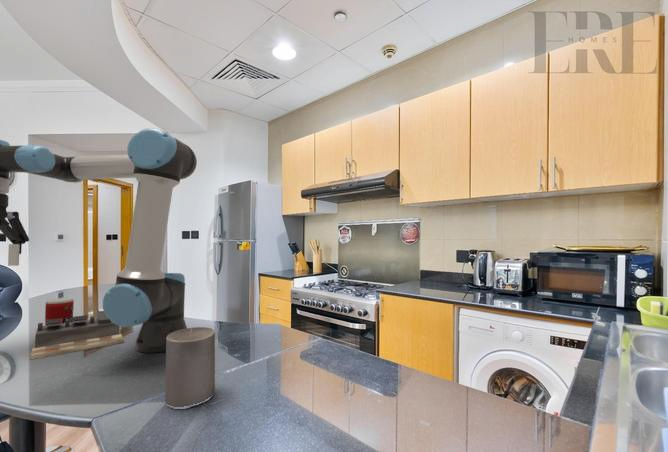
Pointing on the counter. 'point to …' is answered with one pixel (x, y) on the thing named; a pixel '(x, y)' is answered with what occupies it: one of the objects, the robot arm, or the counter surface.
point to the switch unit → (74, 337)
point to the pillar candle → (190, 366)
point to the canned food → (59, 309)
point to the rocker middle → (80, 318)
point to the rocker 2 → (102, 316)
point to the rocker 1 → (54, 321)
